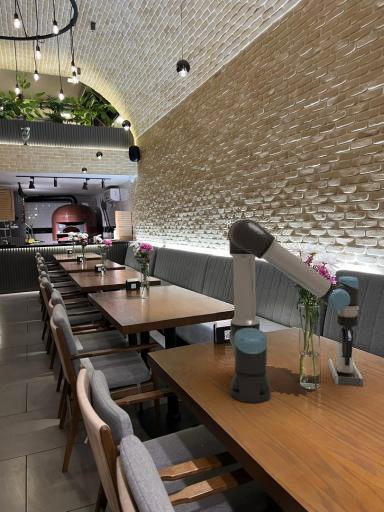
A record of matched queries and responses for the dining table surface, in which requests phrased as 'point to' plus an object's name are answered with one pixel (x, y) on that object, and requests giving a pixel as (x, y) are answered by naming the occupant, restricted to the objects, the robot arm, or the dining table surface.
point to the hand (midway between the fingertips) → (346, 372)
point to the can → (340, 359)
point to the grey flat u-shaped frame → (346, 380)
